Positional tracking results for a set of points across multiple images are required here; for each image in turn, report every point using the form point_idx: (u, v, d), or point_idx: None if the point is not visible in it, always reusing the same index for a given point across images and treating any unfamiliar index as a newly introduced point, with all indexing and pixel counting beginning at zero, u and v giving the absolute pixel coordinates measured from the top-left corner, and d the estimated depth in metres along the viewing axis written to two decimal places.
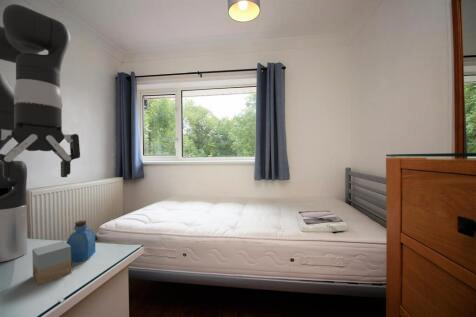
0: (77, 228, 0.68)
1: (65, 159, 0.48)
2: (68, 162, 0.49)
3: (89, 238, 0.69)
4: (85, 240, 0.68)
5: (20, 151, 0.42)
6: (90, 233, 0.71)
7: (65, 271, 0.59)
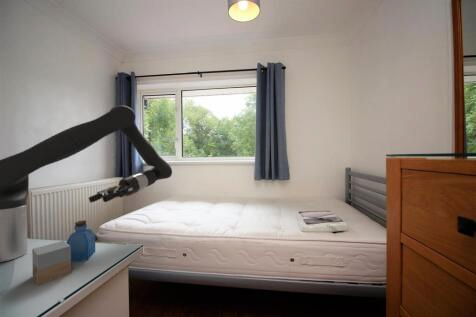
0: (77, 228, 0.68)
1: (101, 198, 0.81)
2: None
3: (89, 238, 0.69)
4: (85, 240, 0.68)
5: None
6: (90, 233, 0.71)
7: (65, 271, 0.59)
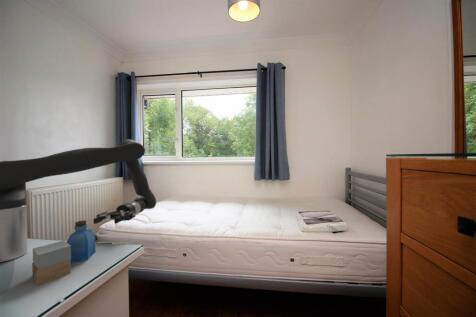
0: (77, 228, 0.68)
1: (102, 220, 0.86)
2: None
3: (89, 238, 0.69)
4: (85, 240, 0.68)
5: None
6: (90, 233, 0.71)
7: (64, 271, 0.59)
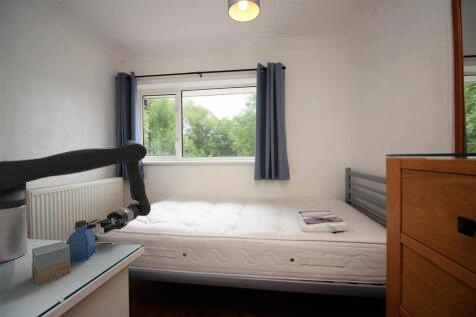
0: (77, 228, 0.68)
1: (91, 229, 0.80)
2: None
3: (89, 238, 0.69)
4: (85, 240, 0.68)
5: None
6: (90, 233, 0.71)
7: (64, 271, 0.59)
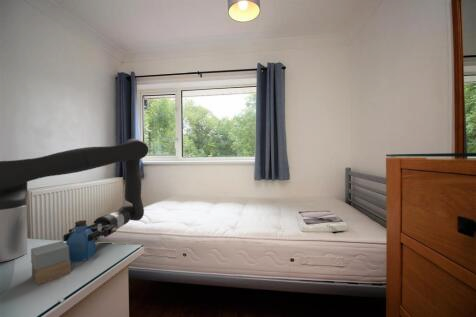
0: (77, 228, 0.68)
1: None
2: None
3: None
4: (85, 240, 0.68)
5: None
6: (90, 233, 0.71)
7: (64, 271, 0.59)
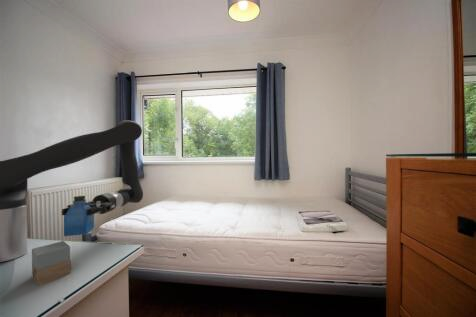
0: (76, 202, 0.68)
1: None
2: None
3: None
4: (83, 214, 0.68)
5: None
6: None
7: (65, 271, 0.59)
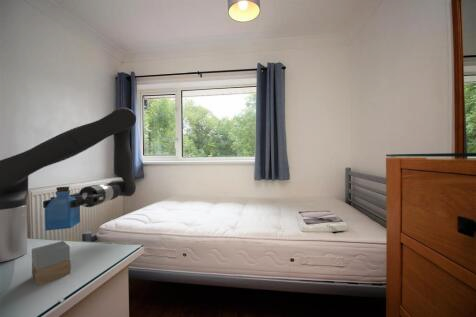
0: (58, 193, 0.62)
1: None
2: None
3: None
4: (67, 206, 0.61)
5: None
6: None
7: (64, 271, 0.59)
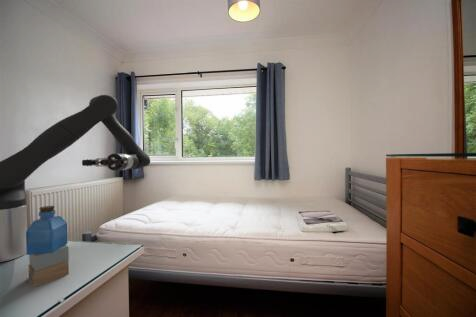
0: (41, 214, 0.57)
1: (91, 165, 0.82)
2: None
3: (56, 226, 0.58)
4: (49, 229, 0.56)
5: (112, 166, 0.83)
6: (59, 221, 0.60)
7: (62, 272, 0.58)
